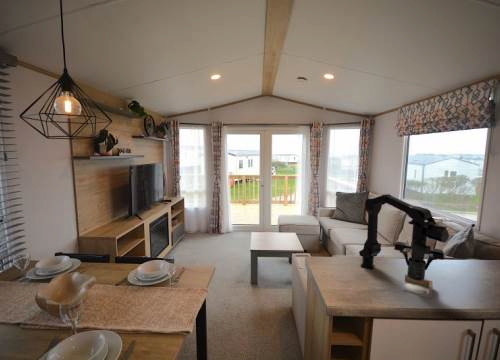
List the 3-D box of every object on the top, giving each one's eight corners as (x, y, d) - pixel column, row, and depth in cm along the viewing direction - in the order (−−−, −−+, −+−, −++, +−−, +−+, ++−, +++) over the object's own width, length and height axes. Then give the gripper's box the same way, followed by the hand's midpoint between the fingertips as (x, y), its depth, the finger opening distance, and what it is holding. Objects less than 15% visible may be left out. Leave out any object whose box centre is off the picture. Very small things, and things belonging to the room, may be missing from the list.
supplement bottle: (405, 272, 119) (408, 249, 118) (422, 276, 116) (425, 252, 115) (408, 279, 113) (410, 254, 112) (425, 282, 110) (428, 257, 109)
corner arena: (404, 280, 123) (405, 274, 123) (431, 288, 116) (432, 281, 116) (403, 290, 114) (403, 283, 114) (432, 298, 108) (433, 291, 107)
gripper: (394, 235, 111) (391, 268, 113) (446, 245, 100) (442, 280, 102) (396, 229, 120) (394, 259, 122) (444, 237, 109) (441, 270, 111)
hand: (416, 267), depth 114 cm, fingers closed on supplement bottle, 7 cm apart
